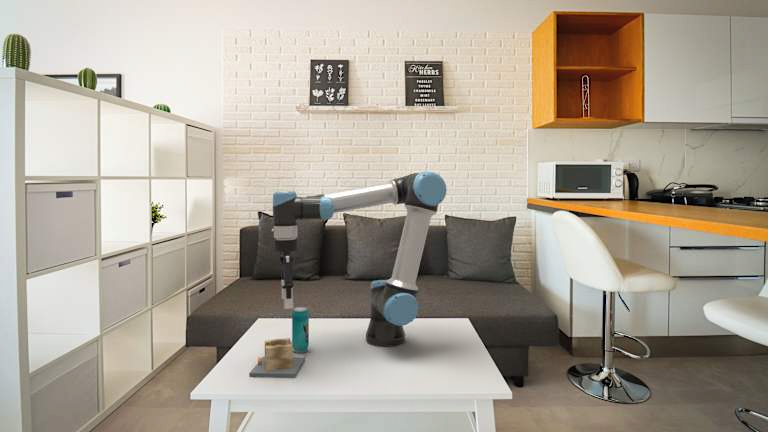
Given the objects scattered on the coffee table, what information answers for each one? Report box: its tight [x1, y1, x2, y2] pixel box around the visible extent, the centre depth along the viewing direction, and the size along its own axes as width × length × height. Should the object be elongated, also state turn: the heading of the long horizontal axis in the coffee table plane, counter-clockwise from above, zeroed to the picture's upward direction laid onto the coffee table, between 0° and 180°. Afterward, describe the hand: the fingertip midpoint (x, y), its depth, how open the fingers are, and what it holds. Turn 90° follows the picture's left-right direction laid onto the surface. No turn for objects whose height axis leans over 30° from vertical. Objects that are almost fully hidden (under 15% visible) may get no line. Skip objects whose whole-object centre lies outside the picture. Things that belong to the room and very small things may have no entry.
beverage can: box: [291, 306, 310, 354], centre depth 160 cm, size 6×6×15 cm
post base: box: [248, 345, 306, 379], centre depth 144 cm, size 14×14×7 cm
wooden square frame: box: [264, 337, 294, 371], centre depth 143 cm, size 8×8×7 cm
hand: (287, 303), depth 148 cm, fingers open, 13 cm apart
